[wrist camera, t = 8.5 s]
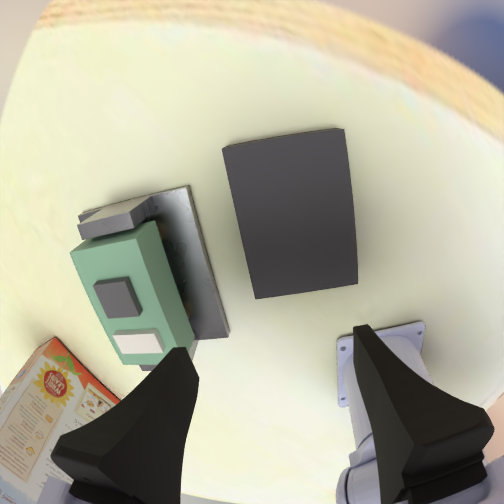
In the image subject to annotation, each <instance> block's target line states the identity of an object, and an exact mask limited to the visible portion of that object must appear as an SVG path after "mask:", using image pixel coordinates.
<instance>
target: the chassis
mask: <svg viewBox="0 0 504 504" xmlns="http://www.w3.org/2000/svg"><path fill="white" fill-rule="evenodd" d="M78 217H79V220H80V224H78V225H77V226H78V229H79V232H80V235H81V238H82V240H85V239H89V238H93V237H97V236H101V235H106V234H110V233H115V232H119V231H123V230H128V229H133V228H135V227H136V226H137V225H138V224H141V223H146V222H150V221H155V222H156V225H157V229H158V232H159V235H160V238H161V241H162V245H163V248H164V251H165V254H166V257H167V260H168V263H169V266H170V269H171V272H172V275H173V278H174V281H175V284H176V287H177V290H178V293H179V295H180V298H181V301H182V304H183V306H184V309H185V312H186V315H187V317H188V320H189V323H190V325H191V328H192V331H193V333H194V339H193V342H192V345H191V348H190V351H189V356H190V358H191V360H193V357H194V353H195V350H196V347H197V344H198V341H199V340H205V339H217V338H228V337H229V332H230V331H229V328H228V324H227V321H226V318H225V314H224V311H223V308H222V304H221V301H220V297H219V294H218V290H217V287H216V283H215V280H214V276H213V273H212V269H211V266H210V262H209V259H208V255H207V251H206V248H205V244H204V240H203V237H202V233H201V229H200V225H199V222H198V218H197V214H196V210H195V206H194V202H193V198H192V195H191V191H190V187H189V185H188V186H183V187H179V188H175V189H170V190H166V191H162V192H158V193H154V194H150V195H146V196H142V197H138V198H134V199H130V200H126V201H122V202H119V203H115V204H111V205H108V206H104V207H101V208H97V209H94V210H90V211H87V212H83V213H82V214H80V215H79V216H78ZM139 366H140V367H141V369H142V371H152V370H153V369H154V368H155V367H156V366H157V365H139Z"/></svg>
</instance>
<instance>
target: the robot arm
mask: <svg viewBox="0 0 504 504" xmlns="http://www.w3.org/2000/svg"><path fill="white" fill-rule="evenodd" d="M419 331H420V332H419ZM424 332H425V324H424V322H422V321H420V322H416V323H411V324H407V325H403V326H398V327H393V328H389V329H384V330H379V331H373V329H372V328H371V327H370V326H369V325H368V324H366V325H361V326H355V327H353V335H352V336H347V337H342V338H339V339H338V340H337V366H338V405H339V407H346V406H349V410H350V416H351V421H352V427H353V432H354V438H355V444H356V449H357V450H356V451H354V452H353V453H351V454H349V459H350V467H348V468H346V469H345V470H343V472H342V473H341V475H340V477H339V480H338V484H337V488H336V503H337V504H504V455H503V456H501V457H499V458H497V459H495V460H493V461H492V462H490V463H488V461H487V458H486V455H485V452H484V450H483V448H484V447H485V446H486V444H487V443H488V442H489V440H490V439H491V437H492V435H493V433H494V426H493V424H492V422H491V420H490V418H489V416H488V415H487V413H486V412H485V410H484V409H483V408H481V407H478V406H475V405H472V404H470V403H467V402H464V401H462V400H460V399H458V398H456V397H453V396H451V395H449V394H448V393H446V392H444V391H442V390H441V389H439V388H437V387H435V386H434V383H433V381H432V379H431V377H430V375H429V373H428V371H427V368H426V366H425V364H424V362H423V360H422V358H421V356H420V354H421V349H422V344H423V338H424ZM343 346H345V347H344V348H341V347H343ZM198 386H199V376H198V374H197V372H196V369H195V367H194V365H193V363H192V360H191V358H190V356H189V353H188V351H187V349H186V347H173V348H172V349H171V350H170V351H169V352H168V353H167V355H166V356H165V357H164V358H163V359H162V360H161V361H160V362H159V364H158V365H157V366H156V367H155V368H154V369H153V370H152V371H151V372H150V373H149V375H148V376H147V377H146V378H145V379H144V380H143V381H142V382H141V383H140V384H139V385H138V386H137V387H136V388H135V389H134V390H133V391H132V392H131V393H129V394H128V395H127V396H126V397H125V398H124V399H123V400H121V401H120V402H119V403H118V404H116V405H115V406H114V407H112V408H111V409H109V410H108V411H107V412H105V413H104V414H102V415H101V416H99V417H98V418H96V419H94V420H93V421H91V422H89V423H87V424H85V425H83V426H81V427H79V428H77V429H75V430H73V431H70V432H68V433H65V434H63V435H60V437H59V439H58V441H57V443H56V445H55V447H54V449H53V451H52V453H51V455H50V457H51V460H52V461H53V462H54V463H55V464H56V465H57V466H58V467H59V468H60V469H61V470H62V471H63V472H65V473H66V474H67V475H68V476H69V477H71V478H72V479H73V483H72V484H70V483H68V482H66V481H64V480H61V479H59V478H56V477H54V476H51V475H49V476H48V478H47V481H46V483H45V485H44V487H43V489H42V492H41V494H40V496H39V499H38V501H37V503H36V504H180V492H181V474H182V464H183V455H184V448H185V442H186V437H187V433H188V430H189V426H190V422H191V419H192V415H193V411H194V407H195V404H196V400H197V394H198Z"/></svg>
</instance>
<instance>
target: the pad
mask: <svg viewBox="0 0 504 504" xmlns="http://www.w3.org/2000/svg"><path fill="white" fill-rule="evenodd" d="M222 152H223V157H224V161H225V166H226V171H227V175H228V180H229V184H230V189H231V193H232V198H233V202H234V207H235V211H236V216H237V220H238V225H239V229H240V234H241V238H242V242H243V247H244V251H245V256H246V260H247V265H248V269H249V273H250V278H251V282H252V287H253V291H254V295H255V299H262V298H269V297H276V296H283V295H290V294H297V293H304V292H311V291H317V290H324V289H330V288H336V287H342V286H348V285H354V284H358V263H357V245H356V230H355V217H354V206H353V196H352V186H351V177H350V169H349V161H348V154H347V147H346V140H345V133H344V129H339V128H335V129H326V130H318V131H311V132H303V133H297V134H290V135H284V136H277V137H271V138H266V139H260V140H255V141H249V142H244V143H239V144H234V145H229V146H226V147H224V148H222Z"/></svg>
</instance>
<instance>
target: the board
mask: <svg viewBox="0 0 504 504" xmlns="http://www.w3.org/2000/svg"><path fill="white" fill-rule="evenodd" d="M70 255H71V258H72V260H73V263H74V265H75V268H76V270H77V272H78V275H79V277H80V279H81V282H82V284H83V286H84V289H85V291H86V293H87V295H88V297H89V300H90V302H91V304H92V306H93V308H94V310H95V312H96V314H97V316H98V318H99V320H100V322H101V324H102V326H103V328H104V330H105V332H106V334H107V336H108V338H109V340H110V342H111V343H112V345H113V347H114V349H115V351H116V353H117V354H118V356H119V358H120V360H121V361H122V363H123V365H158V364H159V362H160V361H161V360H162V359H163V358H164V357H165V356H166V355H167V353H168V352H169V351H170V350H171V349H172V348H173V347H186V349H187V351H188V353H189V351H190V348H191V345H192V342H193V339H194V333H193V331H192V328H191V325H190V323H189V320H188V317H187V315H186V312H185V309H184V306H183V304H182V301H181V298H180V295H179V293H178V290H177V287H176V284H175V281H174V278H173V275H172V272H171V269H170V266H169V263H168V260H167V257H166V254H165V251H164V248H163V245H162V241H161V238H160V235H159V232H158V229H157V225H156V222H155V221H150V222H146V223H141V224H138V225H137V226H136V227H135V228H133V229H128V230H123V231H119V232H115V233H110V234H106V235H101V236H97V237H93V238H89V239H86V240H85V241H84V242H83V243H81V244H80V245H79V246H77V247H76V248H75V249H74V250H72V251H71V252H70Z"/></svg>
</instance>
